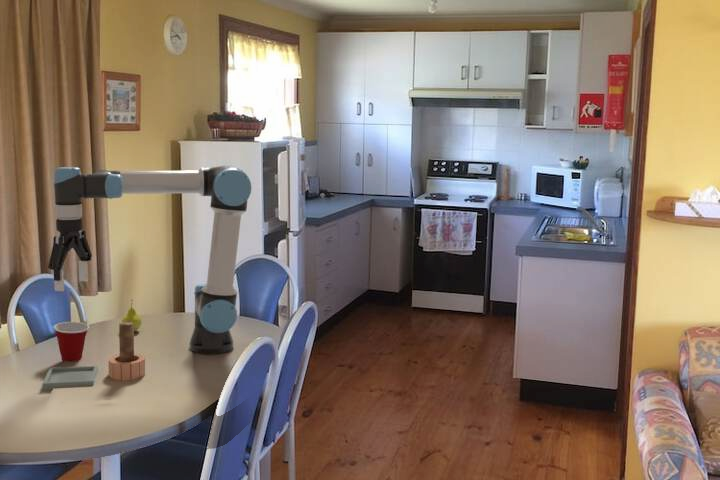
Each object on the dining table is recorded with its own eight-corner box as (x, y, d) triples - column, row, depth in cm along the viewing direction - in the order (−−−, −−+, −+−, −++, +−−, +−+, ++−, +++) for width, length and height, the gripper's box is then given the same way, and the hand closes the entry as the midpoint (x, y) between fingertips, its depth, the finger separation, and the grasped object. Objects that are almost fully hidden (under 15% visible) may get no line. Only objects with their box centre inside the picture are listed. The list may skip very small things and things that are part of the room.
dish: (98, 372, 229) (98, 365, 228) (93, 388, 215) (93, 380, 215) (50, 374, 225) (50, 367, 225) (42, 390, 212) (42, 383, 212)
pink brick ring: (145, 370, 232) (145, 352, 231) (144, 382, 222) (144, 363, 221) (110, 372, 229) (110, 353, 228) (107, 384, 219) (107, 365, 218)
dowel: (134, 371, 228) (133, 321, 225) (133, 376, 224) (133, 325, 221) (120, 372, 227) (119, 322, 224) (119, 376, 223) (118, 326, 220)
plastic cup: (78, 368, 232) (77, 331, 230) (47, 364, 234) (46, 328, 232) (96, 357, 242) (95, 322, 240) (66, 354, 244) (66, 319, 242)
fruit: (137, 334, 269) (137, 303, 268) (119, 333, 269) (119, 302, 268) (143, 329, 276) (143, 298, 274) (125, 328, 276) (125, 297, 274)
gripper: (80, 212, 235) (82, 276, 239) (33, 222, 211) (36, 294, 215) (101, 213, 234) (103, 278, 238) (56, 224, 210) (60, 295, 213)
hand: (72, 285), depth 226 cm, fingers open, 13 cm apart
